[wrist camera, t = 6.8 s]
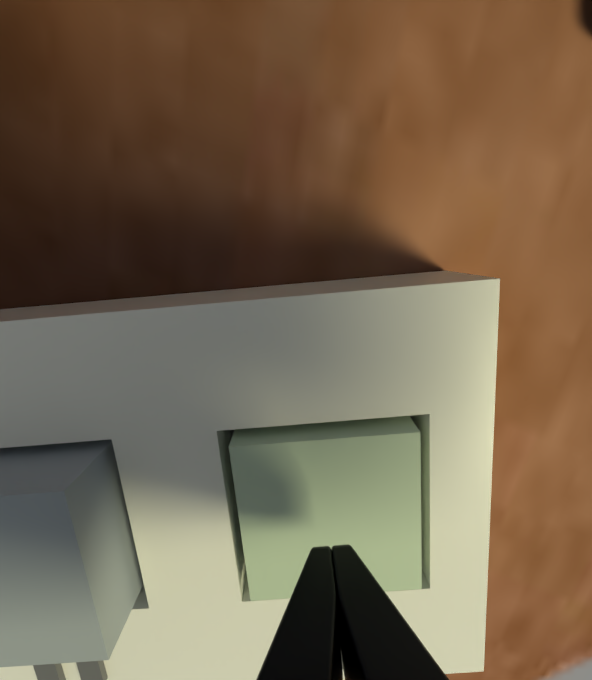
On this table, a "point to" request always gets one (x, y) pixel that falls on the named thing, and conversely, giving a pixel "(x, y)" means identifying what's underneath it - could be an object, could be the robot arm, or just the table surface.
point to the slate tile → (63, 554)
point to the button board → (254, 412)
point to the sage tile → (329, 499)
